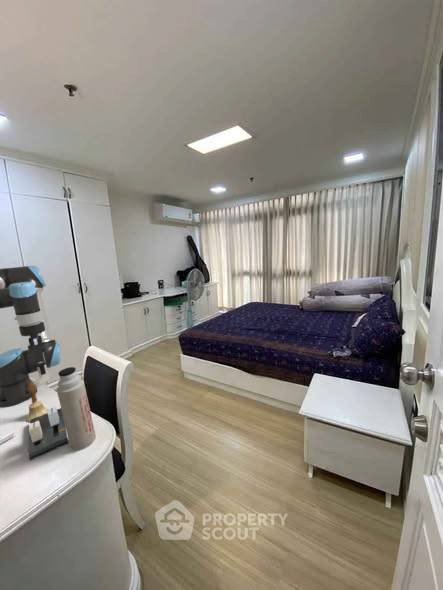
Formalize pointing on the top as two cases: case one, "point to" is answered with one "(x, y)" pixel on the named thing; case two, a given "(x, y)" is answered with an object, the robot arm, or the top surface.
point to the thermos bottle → (75, 409)
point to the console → (48, 436)
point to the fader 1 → (35, 431)
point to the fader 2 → (53, 416)
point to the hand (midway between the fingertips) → (44, 374)
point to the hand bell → (35, 404)
